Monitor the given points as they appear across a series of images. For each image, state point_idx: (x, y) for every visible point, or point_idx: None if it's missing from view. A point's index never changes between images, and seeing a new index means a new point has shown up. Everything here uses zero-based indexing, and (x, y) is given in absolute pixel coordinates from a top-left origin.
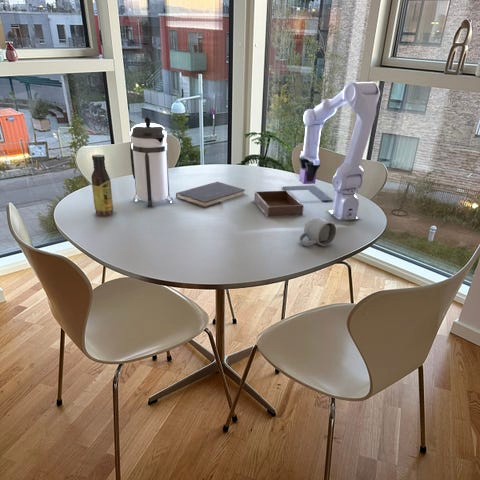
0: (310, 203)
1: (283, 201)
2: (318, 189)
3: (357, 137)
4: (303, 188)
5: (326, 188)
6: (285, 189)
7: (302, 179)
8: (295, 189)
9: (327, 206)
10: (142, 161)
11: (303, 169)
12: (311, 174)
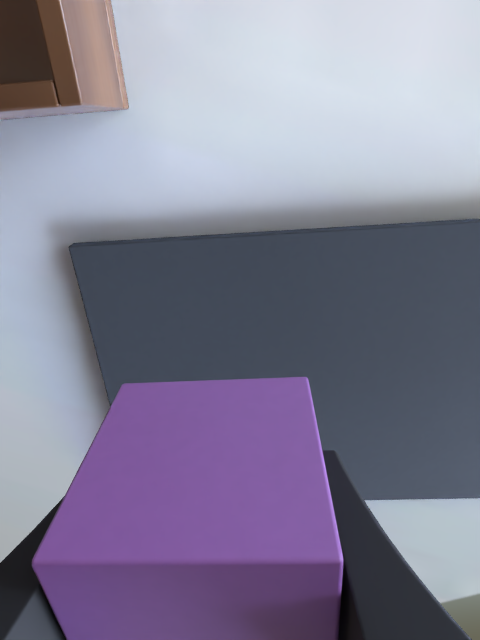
0: (65, 338)
1: (26, 40)
2: (407, 498)
3: None
4: (473, 401)
5: (442, 550)
6: None
7: (165, 414)
8: (467, 321)
9: (8, 435)
10: None
11: (187, 577)
12: None
